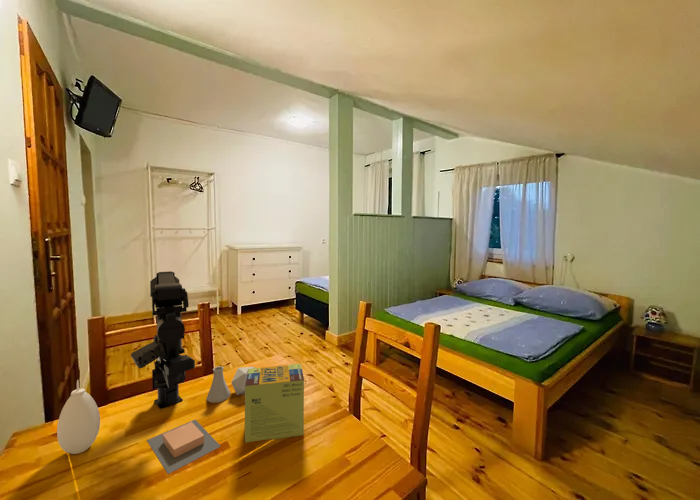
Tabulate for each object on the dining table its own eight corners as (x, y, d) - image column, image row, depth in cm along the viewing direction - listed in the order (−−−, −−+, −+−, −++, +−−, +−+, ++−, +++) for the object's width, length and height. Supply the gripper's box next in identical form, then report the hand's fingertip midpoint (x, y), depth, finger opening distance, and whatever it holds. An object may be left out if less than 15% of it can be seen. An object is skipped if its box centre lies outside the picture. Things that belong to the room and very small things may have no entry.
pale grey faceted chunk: (247, 403, 97) (264, 374, 101) (222, 390, 97) (241, 360, 101) (250, 399, 105) (266, 372, 109) (227, 386, 105) (244, 359, 109)
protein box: (304, 435, 82) (304, 379, 81) (244, 444, 78) (244, 386, 77) (300, 412, 92) (301, 363, 91) (247, 419, 88) (247, 367, 87)
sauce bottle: (67, 444, 77) (64, 375, 76) (105, 437, 80) (103, 370, 79) (51, 466, 70) (48, 390, 69) (94, 457, 73) (91, 384, 72)
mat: (146, 441, 78) (146, 440, 78) (195, 420, 87) (195, 419, 87) (168, 475, 68) (167, 473, 68) (220, 447, 77) (220, 446, 77)
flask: (221, 405, 95) (221, 374, 95) (201, 402, 97) (200, 372, 96) (234, 393, 102) (234, 364, 102) (215, 391, 104) (215, 362, 103)
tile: (162, 434, 77) (173, 449, 72) (191, 421, 82) (204, 435, 77) (162, 443, 77) (174, 459, 72) (191, 430, 83) (204, 444, 77)
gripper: (124, 330, 82) (126, 386, 83) (144, 348, 70) (146, 414, 71) (170, 321, 90) (171, 372, 91) (195, 336, 78) (196, 395, 79)
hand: (170, 387), depth 83 cm, fingers closed
